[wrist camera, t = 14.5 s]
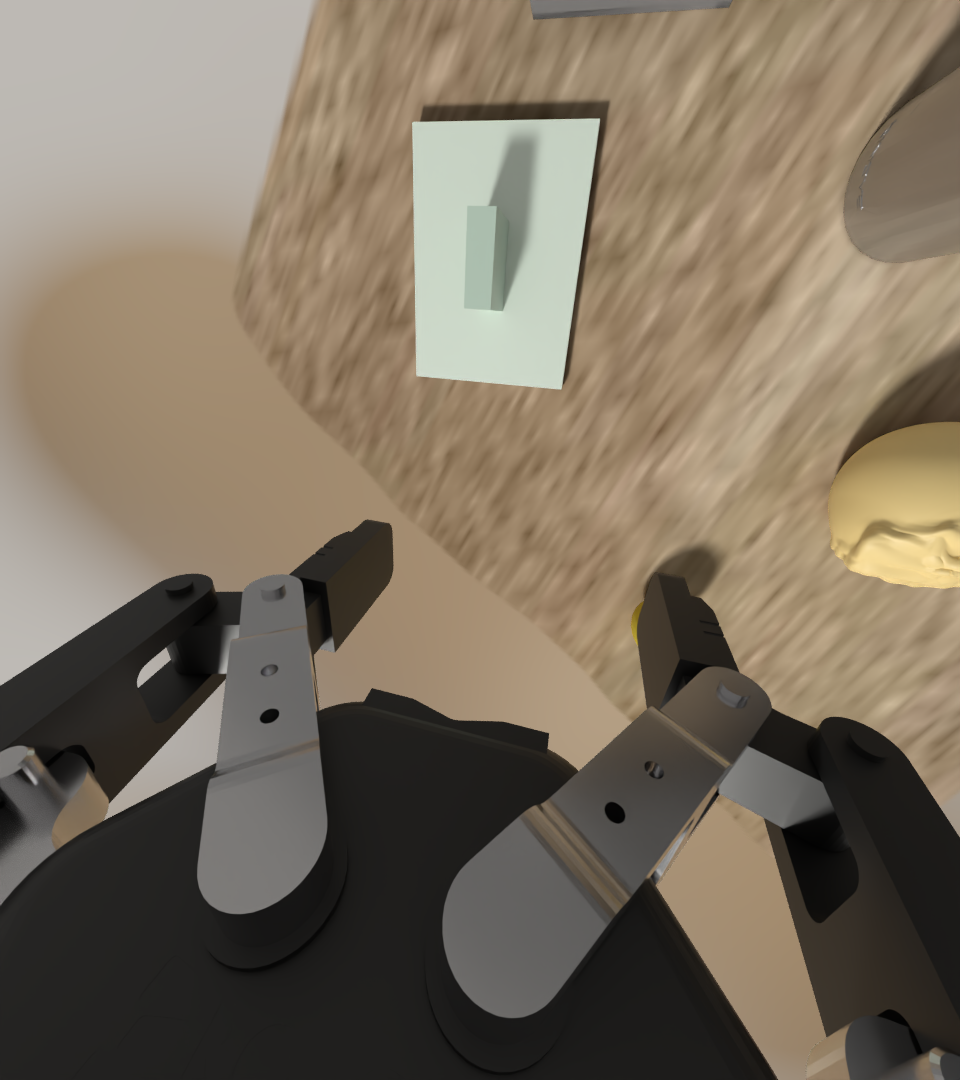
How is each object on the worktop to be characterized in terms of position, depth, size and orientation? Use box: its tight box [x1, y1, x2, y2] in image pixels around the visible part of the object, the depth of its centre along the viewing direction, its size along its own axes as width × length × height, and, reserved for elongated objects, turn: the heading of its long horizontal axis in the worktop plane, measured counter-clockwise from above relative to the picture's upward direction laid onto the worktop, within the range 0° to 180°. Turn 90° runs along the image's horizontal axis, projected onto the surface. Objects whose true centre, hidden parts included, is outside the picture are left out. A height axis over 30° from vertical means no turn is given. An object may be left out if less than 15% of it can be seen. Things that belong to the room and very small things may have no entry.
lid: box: [412, 119, 600, 389], centre depth 32 cm, size 13×17×7 cm
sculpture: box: [828, 422, 960, 588], centre depth 30 cm, size 11×12×11 cm
